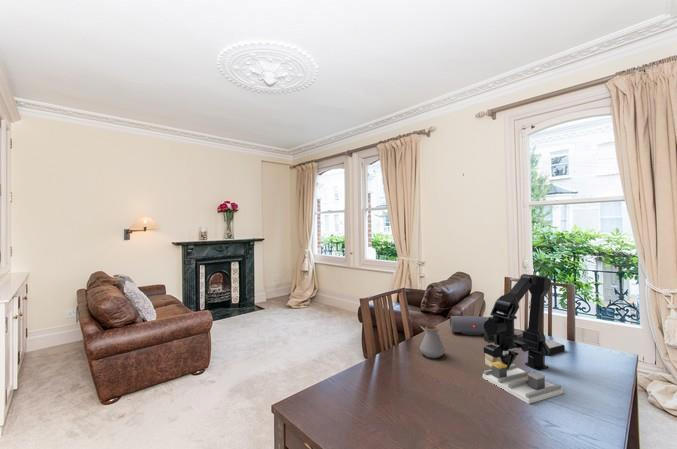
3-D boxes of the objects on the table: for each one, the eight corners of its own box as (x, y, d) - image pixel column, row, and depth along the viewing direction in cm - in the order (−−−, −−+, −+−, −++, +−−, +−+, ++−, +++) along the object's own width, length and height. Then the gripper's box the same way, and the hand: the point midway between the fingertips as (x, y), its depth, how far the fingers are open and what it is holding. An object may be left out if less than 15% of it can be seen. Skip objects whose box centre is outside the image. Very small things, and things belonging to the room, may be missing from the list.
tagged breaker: (499, 373, 127) (499, 361, 127) (507, 377, 124) (507, 364, 124) (491, 374, 126) (491, 362, 126) (499, 379, 122) (499, 366, 122)
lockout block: (491, 362, 141) (491, 351, 141) (499, 366, 137) (499, 355, 137) (485, 364, 139) (485, 353, 139) (492, 368, 136) (492, 356, 136)
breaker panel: (514, 370, 134) (514, 363, 134) (563, 393, 115) (563, 385, 115) (482, 377, 127) (482, 371, 127) (528, 403, 108) (528, 396, 108)
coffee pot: (450, 356, 147) (450, 324, 147) (432, 362, 142) (432, 328, 142) (417, 342, 166) (417, 313, 166) (401, 346, 160) (401, 317, 160)
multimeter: (527, 339, 170) (527, 330, 170) (565, 352, 153) (565, 342, 153) (510, 343, 165) (510, 333, 165) (547, 357, 147) (547, 346, 147)
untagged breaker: (535, 383, 119) (535, 371, 119) (544, 388, 115) (544, 375, 115) (527, 385, 117) (527, 372, 117) (537, 390, 114) (537, 377, 114)
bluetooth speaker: (452, 335, 175) (452, 317, 175) (449, 330, 184) (449, 313, 184) (496, 338, 172) (495, 319, 172) (490, 332, 181) (490, 314, 181)
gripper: (505, 322, 137) (505, 357, 137) (472, 327, 130) (473, 365, 130) (529, 330, 127) (529, 368, 127) (495, 336, 120) (495, 377, 120)
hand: (506, 369), depth 126 cm, fingers closed
